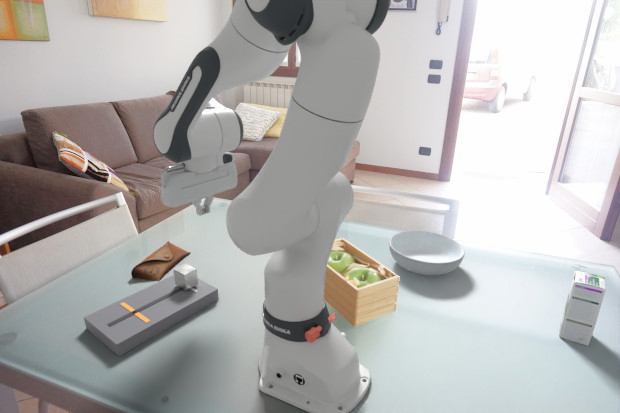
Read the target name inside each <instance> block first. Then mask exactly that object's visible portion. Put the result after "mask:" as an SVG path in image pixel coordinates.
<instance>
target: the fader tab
mask: <svg viewBox="0 0 620 413" xmlns="http://www.w3.org/2000/svg"><path fill="white" fill-rule="evenodd" d="M172 269H173V275H174V278H175V284H176V285H177V286H179V287H181V288H183V289H184V290H188V289H190V288H192V287H194V286H196V285H198V279H199V278H198V270H197V268H195V267H193V266H192V265H190V264H187V263H183V264H181V265H179V266H177V267H173V268H172Z"/></svg>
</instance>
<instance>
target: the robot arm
mask: <svg viewBox="0 0 620 413" xmlns="http://www.w3.org/2000/svg"><path fill="white" fill-rule="evenodd" d="M389 7H390V0H236V1H235V2H234V5H233V7H232V10H231V12H230V16H229V18H227V22H226V24H224V26H223V28H222V29H221V31H220V32H218V34H217V35H216V37H215V38H214V39H213V40H212V41H211V42H210V43H209V44H208V45H207V46H204V48H203V49H201V50H200V51H199V52H198V53H197V54H196V55H195V57H194V58H193V60H192V61H191V63H190V65H189V66H188V68H187V70H186V72H185V74H184V75H183V78H182V79H181V82H180V83H179V85H178V87H177V89H176V91H175V92H174V95H172V98H171V100H170V102H169V104H168V105H167V107H166V108H165V109H164V110H163V111H162V113H160V115H159V116H158V118H157V119H156V121H155V123H154V125H153V130H152V136H153V144H154V146H155V148H156V151H157V152H158V153H159V154H160V155H162V156H163V157H164V158H166V159H167V160H170V161H171V162H173V163H175V165H169V166H166V167H165V168H164V170H162V171H161V173H160V183H161V184H160V185H161V186H160V197H161V203H162V204H163V205H165V206H166V207H169V208H171V209H173V208H174V209H175V208H178V207H180V206H185V205H186V204H189V203H191V205H193V206H194V208H195V209H196V210H195V212H196V214H197V216H199V217H200V216H203V215H206V214H209V213H211V206H212V204H213V201H214V195H217V194H220V193H223V192H226V191H229V190H233V189H235V188H236V187H237V185H238V170H237V165H236V164H235V161H236V156H235V153H233V152H232V151H235V150H237V149H238V148H239V147H240V145H241V143H242V142H243V139H244V138H243V137H244V125H243V124H244V123H243V121H242V118H241V117H240V115H239V114H238V113H237V111H235V110H234V109H232V108H229V107H226V106H225V105H223V104H222V103H220V102H219V101H218V100H217V99H216V98H215V97H217V96H219V95H221V94H222V93H224V92H226V91H228V90H231V89H234V88H238V87H241V86H243V85H248V84H251V83H255V82H259V81H262V80H265V79H266V78H269V77H270V76H272V75H273V74H274V73H275V72H276V71H277V70H278V69H279V67H281V65H282V64H283V62H284V61H285V59H286V57H287V55H288V54H289V51H290V50H291V47H292V46H293V44H294V43H296V45H297V46H298V49H299V55H300V62H299V63H300V64H299V68H298V72H297V76H296V79H295V82H294V85H293V89H292V93H291V96H290V98H289V99H290V100H289V104H288V107H287V109H286V110H287V111H286V114H285V117H284V120H283V123H282V127H281V131H280V134H279V136H278V139H277V141H276V143H275V145H274V147H273V149H272V151H271V152H270V154H269V156H268V158H267V159H266V161H265V162H264V164H263V166H262V167H261V169H260V170H259V172H258V173H257V174H256V176H255V177H254V178H253V180H252V181H251V182H250V183H249V185H248V186H247V187H246V188H244V189H243V191H242V192H240V193H239V194H238V195H237V196H236V197H235V198H233V199H232V200H231V201H230V203H229V204H228V206H227V207H228V208H227V211H226V214H225V215H226V216H225V217H226V218H225V224H226V230H227V233H228V236H229V237H230V240H231V241H232V243H233V244H234V246H236V248H238V249H240V251H241V252H243V253H245V254H247V255H249V256H253V257H254V256H256V257H257V256H260V255H266V254H271V255H270V257H269V259H268V260H267V261H266V264H265V266H264V270H263V273H264V274H263V275H264V301H263V303H262V323H263V325H264V334H263V335H264V337H263V344H262V348H261V349H262V350H261V354H260V356H259V359H258V370H259V374H260V378H259V383H258V384H259V386H258V388H259V390H260V392H262V393H264V394H266V395H268V396H271V397H272V398H275V399H278V400H281V401H282V402H285V403H287V404H289V405H291V406H294V407H296V408H298V409H300V410H302V411H305V412H307V413H350V412H351V411H353V409H355V408H356V407H357V406H358V405H359V403H360V402H362V400H363V398H365V396H366V394H367V392H368V390H369V388H370V385H371V379H372V378H371V371H370V369H368V368H367V367H366V366H365V365H363V364H361V363H360V360H359V359H360V358H359V355H358V352H357V350H356V348H355V347H354V346H353V345H352V344H351V342H349V339H348V335H347V333H345V332H341V331H340V330H339V329H338V328H337V327H336V326H335V325H334V324H333V321H335V319H336V318H337V316H335V315H336V314H337V313H336V312H333V313H332V314H331V315H330V313H329V309H328V306H327V303H326V301H325V287H326V285H325V284H326V283H325V282H326V273H327V267H328V266H327V265H328V262H329V258H330V255H331V252H332V249H333V246H334V243H335V240H336V237H337V235H338V232H339V230H340V228H341V225H342V224H343V222H344V220H345V219H346V217H347V215H348V214H350V211H351V210H352V209H353V205H354V199H355V197H354V196H355V195H354V189H353V186H352V183H351V182H350V180H349V179H348V178H347V177H346V175H345V174H344V173H342V172H341V170H342V169H343V168H344V167H345V166H346V164H347V163H348V160H349V159H350V156H351V153H352V150H353V147H354V145H355V142H356V140H357V138H358V136H359V135H358V134H359V132H360V130H361V128H362V124H363V122H364V120H365V118H366V114H367V111H368V109H369V106H370V103H371V100H372V97H373V93H374V89H375V85H376V82H377V77H378V73H379V72H378V71H379V67H380V61H381V49H380V45H379V43H378V41H377V40H376V38H375V37H374V36H373V34H375V33H376V32H377V31H378V30H379V29H380V27H381V26H382V25H383V23H384V22H385V20H386V17H387V15H388V11H389ZM202 199H204V202H203V204H202V205H201V203H202Z"/></svg>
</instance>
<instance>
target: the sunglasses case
mask: <svg viewBox="0 0 620 413" xmlns="http://www.w3.org/2000/svg"><path fill="white" fill-rule="evenodd" d="M189 255H191V252H190V251H186V250H184V249H183V248H181V247H179V246H177V245H175V244H174V243H171V242H170V241H169V240H168V241H166V243H165V244H163V245H162V246H160V247H159V248H158V249H156V250H155V251H153V252H152V253H151V254H150V255H148V256H147V257H146V258H145V259H144V260H142V261H141V262H140V263H137V264H136V265H135V266H134V267H133V268H132V270H131V274H130V275H131V277H132V278H133V279H137V280H142V281H143V280H144V281H150V282H160V281H162V280H163V279H162V278H164V276H165V275H167V273H169V271H171V270H172V269H174V268H175V266H176V265H177V264H179V263H180V262H181V261H182V260H183V259H185V258H186V257H188V256H189Z"/></svg>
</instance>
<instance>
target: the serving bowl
mask: <svg viewBox="0 0 620 413" xmlns="http://www.w3.org/2000/svg"><path fill="white" fill-rule="evenodd" d="M388 242H389V243H388V245H389V251H390V254H391V257H392V258H393V259H394V261H395V263H397V265H399V266H401V267H402V268H404V269H405V270H408V271H410V272H412V273H415V274H420V275H424V276H442V275H445V274H448V273H451V272H452V271H455V270H456V269H457V268H458V267H459V266H460V265H461V263H462V261H463V259H464V257H465V248H464V247H463V245H462V244H461V243H459V241H457V240H455V239H453V238H452V237H450V236H447V235H445V234H443V233H439V232H433V231H429V230H422V229H421V230H419V229H415V230H412V229H411V230H405V231H400V232H397V233H395V234H393V235H392V236H391V237H390V238H389V241H388Z"/></svg>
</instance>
